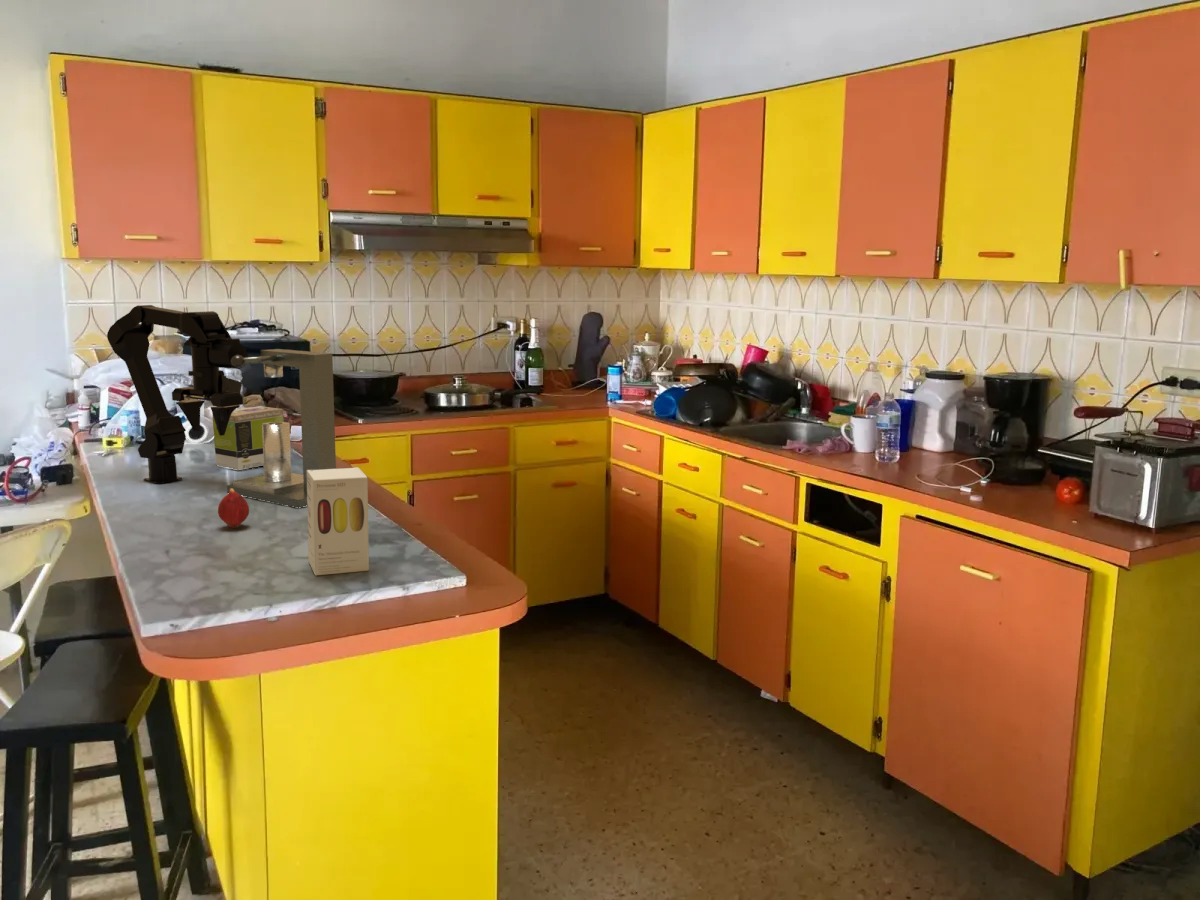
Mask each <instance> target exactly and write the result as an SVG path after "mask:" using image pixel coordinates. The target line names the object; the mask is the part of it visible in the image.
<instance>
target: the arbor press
mask: <svg viewBox="0 0 1200 900" xmlns="http://www.w3.org/2000/svg"><path fill="white" fill-rule="evenodd" d="M333 363H334V361H333V353H329V352H320V351H319V352H317V351H307V350H294V349H284V348H283V349H282V348H274V349H261V350H260V356H248V357H246V358H243V357H242V356H241V355H235V356H233V357H232V359H231V364H232V366H234V367H235V368H240V369H242V368H244V367H243V365H244V364H245V365H252V364H262V365H263V372H264V373H263V374H264V377H265V378H282V377H284V371H283V370H284V369H283V368H284V367H292V368H298V369H299V370H298V371H299V398H300V399H299V400H300V401H299V402H300V420H301V421H300V422H301V424H300V425H301V447H302V449H301V450H302V472H303V474H300V473H294V472H291V476H292V479H291V480H288V481H281V482H269V481H265V480H264V474H261V475H256V476H250V477H246V478H241V479H236V480H233V481H232V484H226V494H227V493H229V491H230V489H234V491H235V492H236V493H237V494H239V495H243V496H247V497H252V498H256V499H261V500H265V501H270V502H274V503H279V504H283V505H288V506H294V507H298V508H299V507H303V506H306V505H307V470H323V469H337V460H336V459H337V458H336V457H337V455H336V453H337V452H336V427H335V423H336V422H335V405H334V404H335V398H334V397H335V396H334V395H335V393H334V367H333ZM245 365H244V366H245ZM241 367H242V368H241ZM283 505H282V506H283Z"/></svg>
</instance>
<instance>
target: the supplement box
mask: <svg viewBox="0 0 1200 900" xmlns="http://www.w3.org/2000/svg"><path fill="white" fill-rule="evenodd" d="M368 485H369V484H368V477H367V475H366V474H365V473H364V472H363V471H362V469H360V468H359V467H358V466H357V467H349V468H347V467H345V468H336V469H323V470H307V507H306V508H307V509H306V510H307V511H306V512H307V539H308V540H307V547H308V559H307V560H308V563H309V565H310V567H311V569H312V571H313V573H314V575H315V576H325V575H335V574H336V575H337V574H345V573H346V574H347V573H356V572H368V571H369V570H370V556H369V553H370V551H369V550H370V549H369V548H370V547H369V494H368V493H369V492H368V489H369V487H368Z"/></svg>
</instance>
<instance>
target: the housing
mask: <svg viewBox="0 0 1200 900" xmlns="http://www.w3.org/2000/svg"><path fill="white" fill-rule="evenodd" d="M290 425H291V424H290V422H286V421H284V422H268V423H263V424H262V436H263V459H264V466H263V475H264V480H265V481H269V482H281V481H288V480H291V479H292V476H291V473H292V456H291V455H292V454H291V431H290V428H291V427H290Z"/></svg>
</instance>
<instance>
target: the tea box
mask: <svg viewBox="0 0 1200 900" xmlns="http://www.w3.org/2000/svg"><path fill="white" fill-rule="evenodd" d="M211 413H212V412H211ZM212 415H213V413H212ZM268 422H285V417H284V409H283V408H279V407H278V408H277V407H276V408H275V407H268V406H262V405H258V406H251V407H243V408H236V409H235V410H234V411H233V412H232V414H231V416H230V419H229V422H228V425H227V428H226V432H225V435H223V436H220V435H219V432H218V430H217V426H216V423H215V420H214V417H213V416H212V427H213V438H214V440H213V441H214V454H215V455H214V457H215V464H216V465H219V466H223V467H229V468H233V469H237V470H239V469H244V468H250V467H255V466H260V465H264V459H263V436H262V424H263V423H268Z"/></svg>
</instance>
